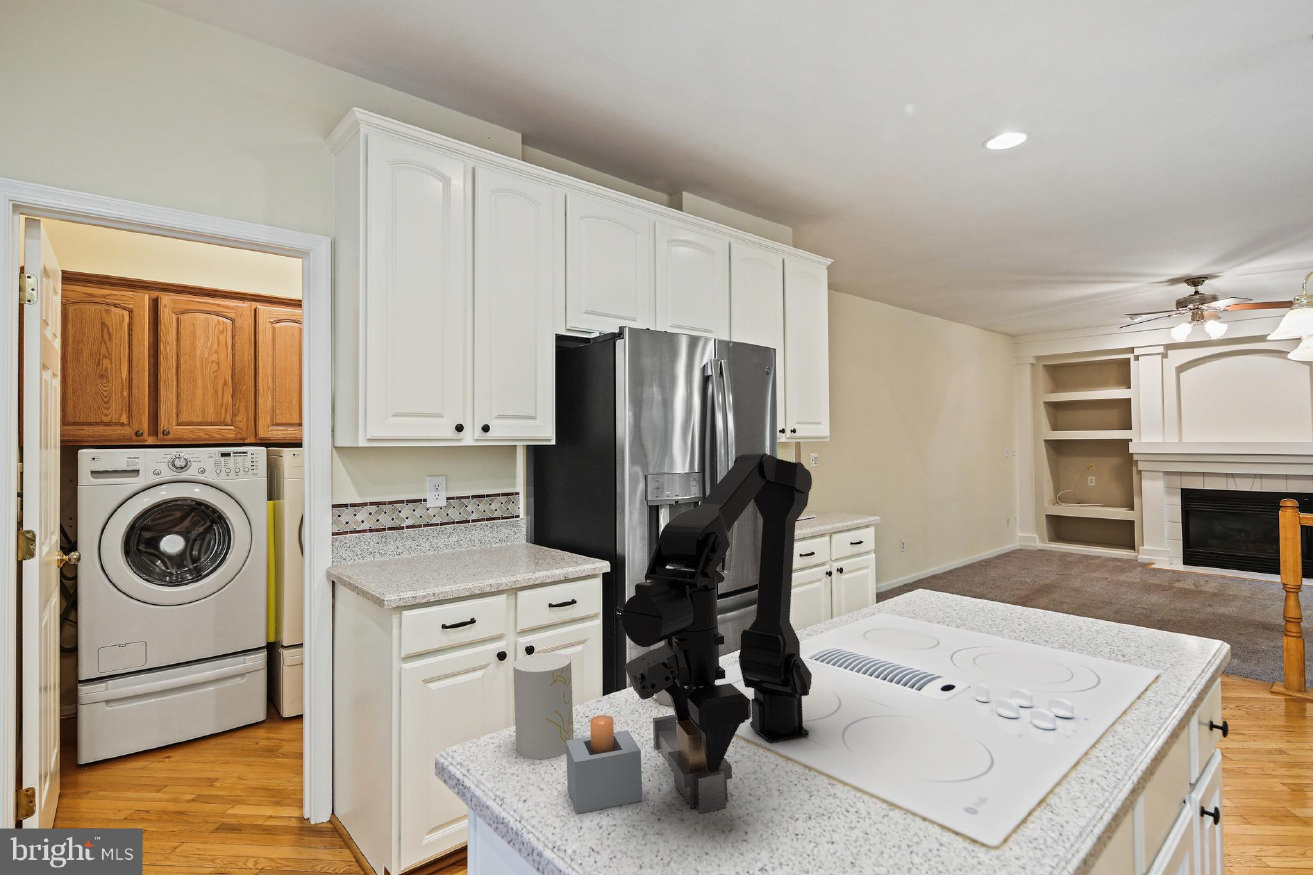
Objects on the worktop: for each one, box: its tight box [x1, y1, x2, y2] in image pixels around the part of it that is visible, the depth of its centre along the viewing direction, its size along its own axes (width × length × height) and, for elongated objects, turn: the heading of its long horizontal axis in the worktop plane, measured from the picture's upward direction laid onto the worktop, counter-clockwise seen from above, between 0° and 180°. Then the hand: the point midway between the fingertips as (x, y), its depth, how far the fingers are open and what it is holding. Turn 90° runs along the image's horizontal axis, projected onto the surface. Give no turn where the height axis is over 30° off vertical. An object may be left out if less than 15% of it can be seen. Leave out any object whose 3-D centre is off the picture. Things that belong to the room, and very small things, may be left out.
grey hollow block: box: [565, 730, 643, 815], centre depth 81 cm, size 8×6×6 cm
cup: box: [512, 652, 575, 760], centre depth 95 cm, size 8×8×12 cm
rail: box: [652, 714, 726, 814], centre depth 85 cm, size 3×18×4 cm, turn 17°
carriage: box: [667, 720, 733, 808], centre depth 80 cm, size 6×6×8 cm
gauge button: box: [589, 714, 615, 754], centre depth 81 cm, size 3×3×4 cm
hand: (698, 753), depth 80 cm, fingers open, 9 cm apart
